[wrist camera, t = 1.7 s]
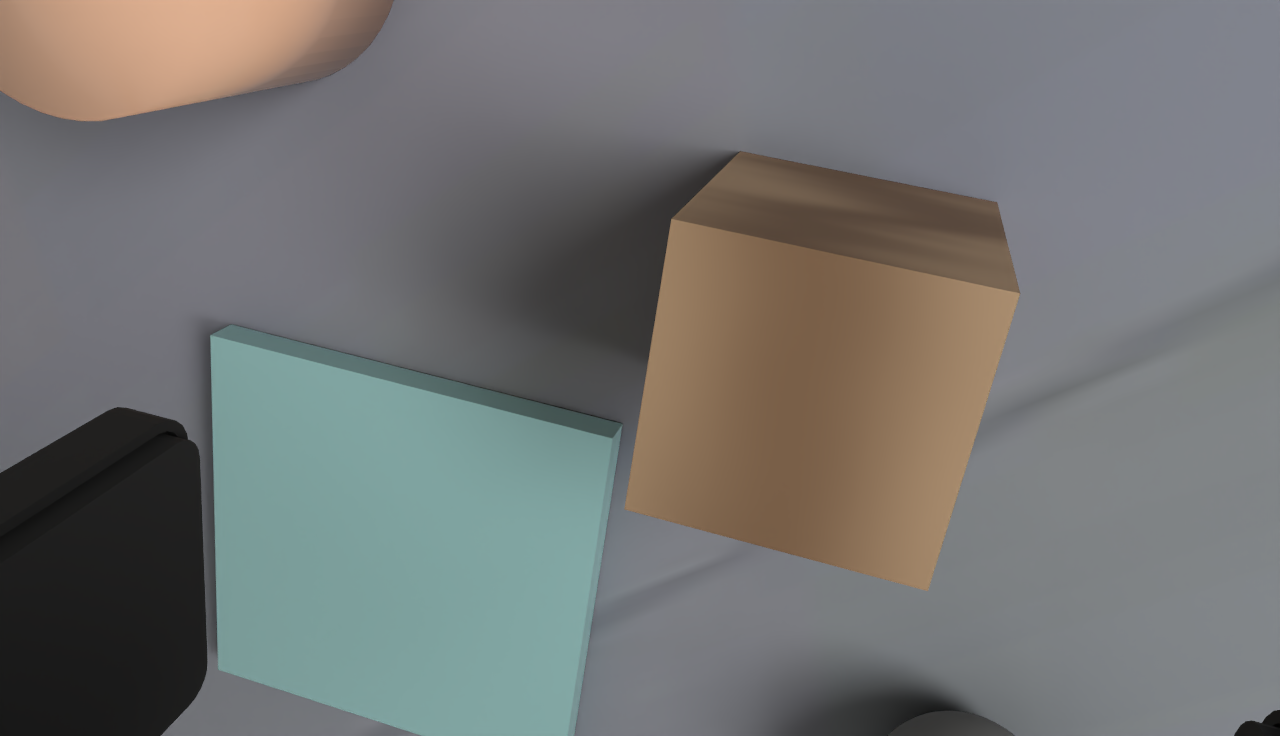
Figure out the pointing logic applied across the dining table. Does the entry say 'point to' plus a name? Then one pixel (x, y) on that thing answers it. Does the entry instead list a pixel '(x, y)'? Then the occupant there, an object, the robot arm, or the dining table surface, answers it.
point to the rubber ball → (950, 725)
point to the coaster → (404, 539)
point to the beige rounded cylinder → (172, 50)
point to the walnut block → (822, 363)
